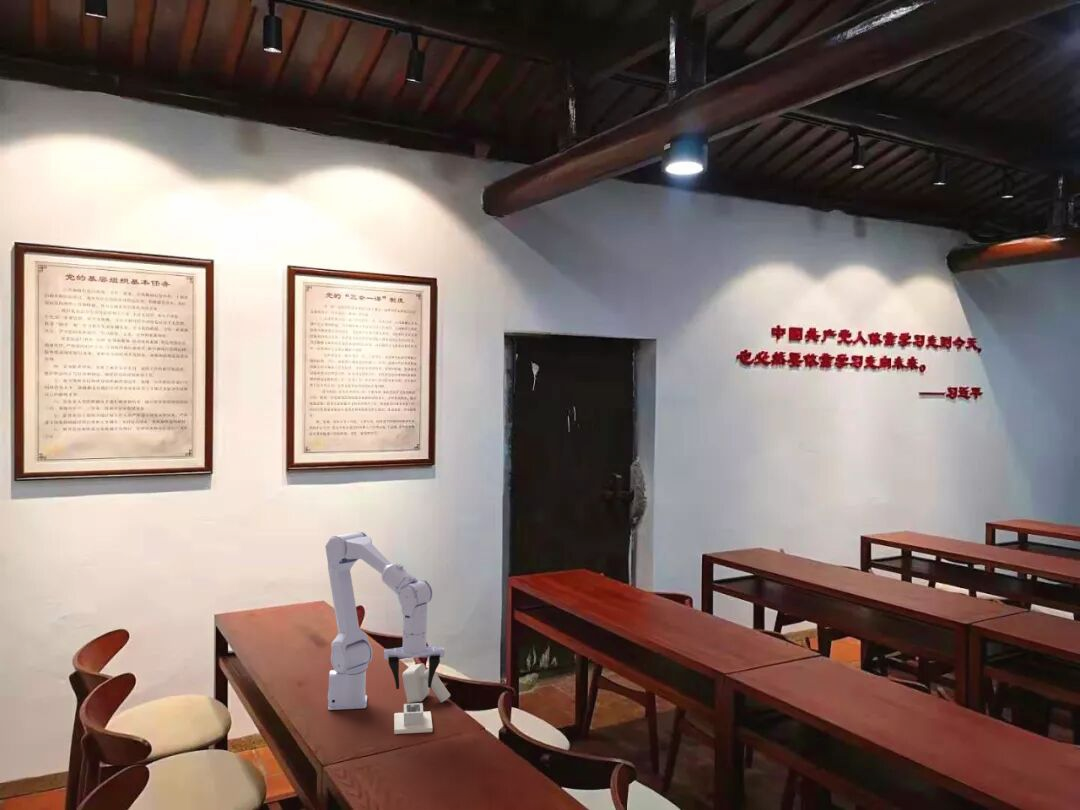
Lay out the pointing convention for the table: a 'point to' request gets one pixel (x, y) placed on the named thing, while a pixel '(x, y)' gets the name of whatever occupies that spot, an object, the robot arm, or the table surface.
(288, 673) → the table surface
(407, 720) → the hollow square tube
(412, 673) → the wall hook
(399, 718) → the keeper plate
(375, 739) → the table surface
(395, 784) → the table surface
